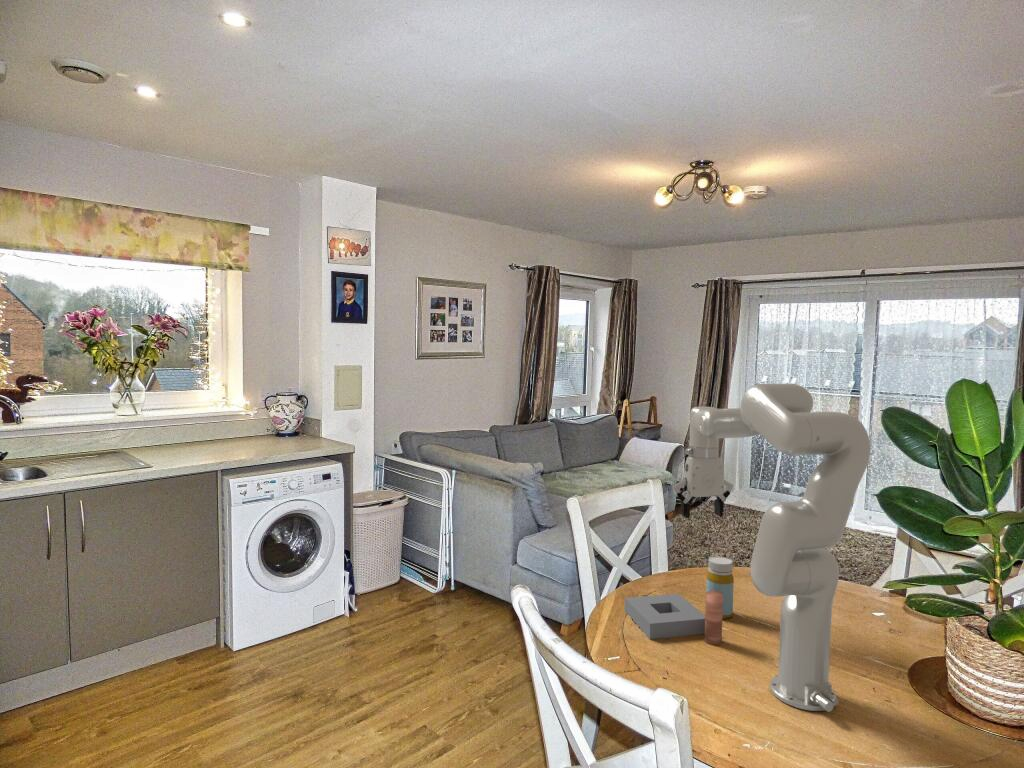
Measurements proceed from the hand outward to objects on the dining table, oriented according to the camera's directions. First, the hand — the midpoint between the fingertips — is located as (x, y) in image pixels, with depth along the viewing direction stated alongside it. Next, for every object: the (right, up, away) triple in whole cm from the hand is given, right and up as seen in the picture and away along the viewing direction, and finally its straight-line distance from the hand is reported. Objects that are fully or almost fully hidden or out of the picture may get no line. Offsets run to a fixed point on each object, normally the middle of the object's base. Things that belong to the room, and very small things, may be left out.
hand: (702, 516), depth 165 cm
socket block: (-11, -28, -3) cm, 30 cm away
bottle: (+5, -28, +3) cm, 28 cm away
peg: (-1, -28, -13) cm, 31 cm away
